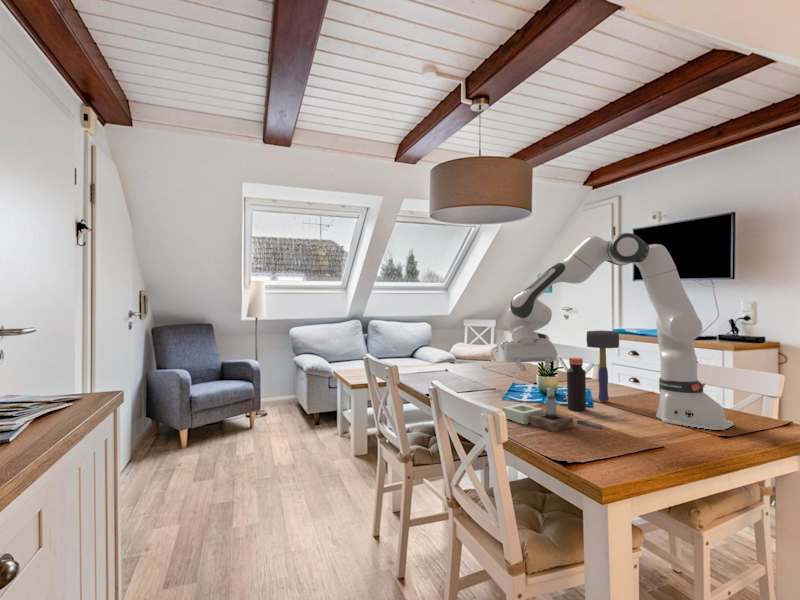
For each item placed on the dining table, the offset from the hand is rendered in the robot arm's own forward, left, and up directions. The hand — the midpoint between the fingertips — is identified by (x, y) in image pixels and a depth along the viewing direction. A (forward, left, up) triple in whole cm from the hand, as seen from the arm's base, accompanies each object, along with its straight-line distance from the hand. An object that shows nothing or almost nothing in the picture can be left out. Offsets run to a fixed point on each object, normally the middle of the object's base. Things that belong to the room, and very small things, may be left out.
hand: (535, 369), depth 160 cm
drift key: (-18, -6, -18) cm, 26 cm away
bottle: (-2, -21, -18) cm, 27 cm away
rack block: (0, +7, -17) cm, 19 cm away
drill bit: (-11, +5, -17) cm, 21 cm away
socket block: (-11, +5, -17) cm, 21 cm away
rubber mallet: (-1, -40, -18) cm, 44 cm away
